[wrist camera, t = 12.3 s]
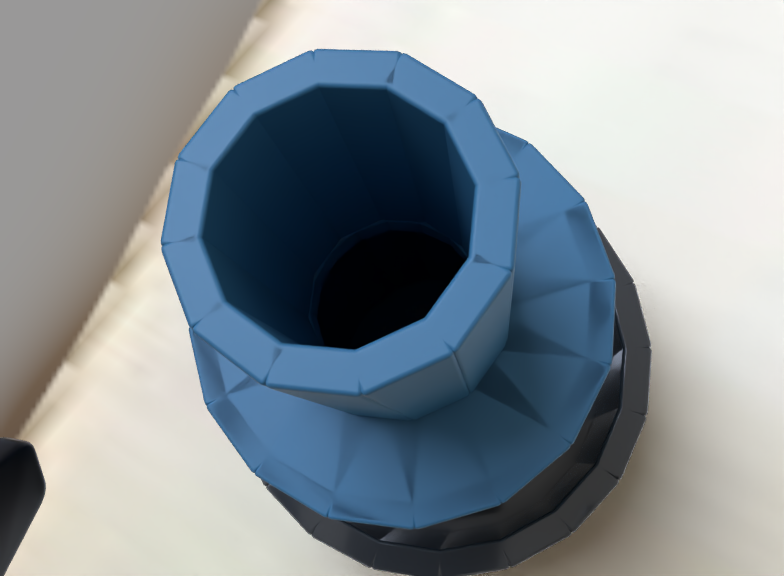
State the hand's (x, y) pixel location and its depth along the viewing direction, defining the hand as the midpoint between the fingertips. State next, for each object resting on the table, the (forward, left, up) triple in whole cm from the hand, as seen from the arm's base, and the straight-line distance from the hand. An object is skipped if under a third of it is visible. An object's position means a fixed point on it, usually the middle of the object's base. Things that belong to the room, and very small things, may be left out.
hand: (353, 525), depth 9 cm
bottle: (+3, +1, -10) cm, 11 cm away
